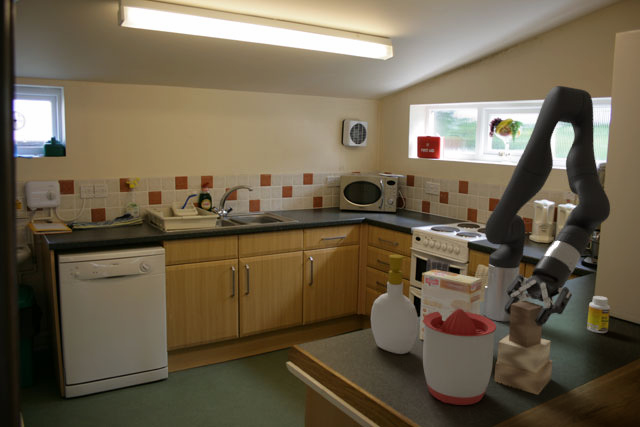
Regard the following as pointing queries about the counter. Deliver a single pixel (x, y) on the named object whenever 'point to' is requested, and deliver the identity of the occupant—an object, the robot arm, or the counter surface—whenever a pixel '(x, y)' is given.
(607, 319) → the supplement bottle
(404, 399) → the counter surface
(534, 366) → the block top
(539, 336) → the walnut post
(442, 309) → the coffeecake box
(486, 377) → the citrus juicer
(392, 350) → the soap bottle
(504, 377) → the block bottom
